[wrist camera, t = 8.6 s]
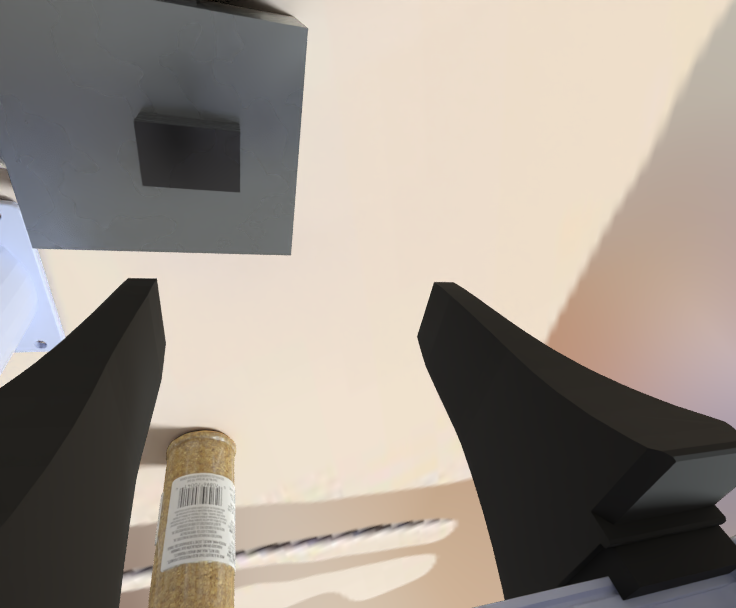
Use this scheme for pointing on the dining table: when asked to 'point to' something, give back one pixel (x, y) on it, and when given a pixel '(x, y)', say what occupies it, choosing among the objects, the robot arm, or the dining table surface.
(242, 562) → the dining table surface
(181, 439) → the sprinkles bottle
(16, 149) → the drawer
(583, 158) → the dining table surface
